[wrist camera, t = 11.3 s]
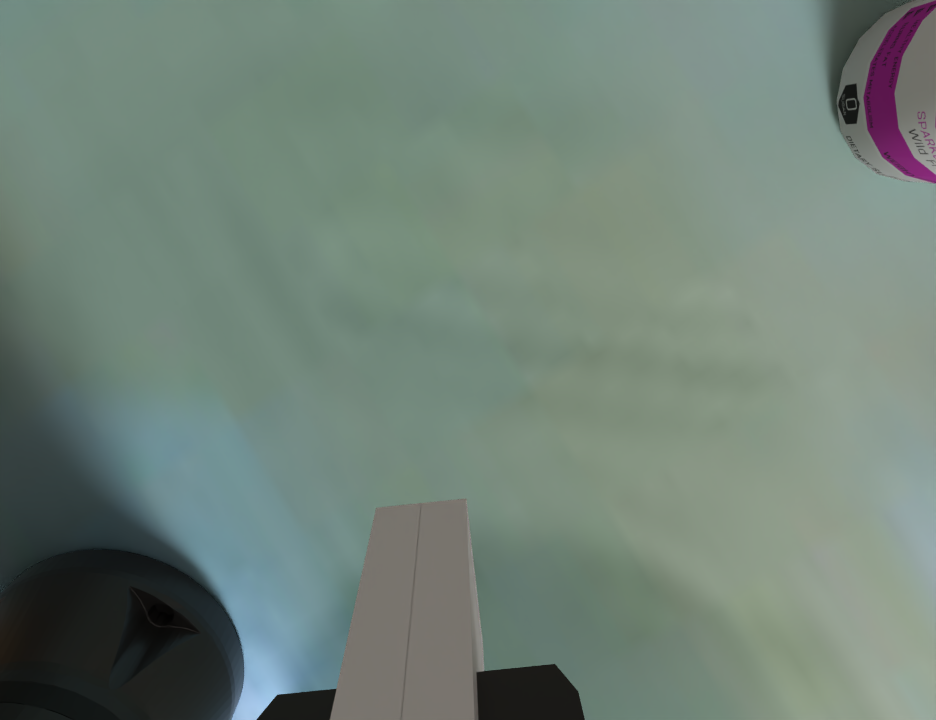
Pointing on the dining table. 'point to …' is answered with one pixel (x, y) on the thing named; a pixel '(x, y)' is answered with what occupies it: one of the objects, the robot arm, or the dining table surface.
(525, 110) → the dining table surface
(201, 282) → the dining table surface
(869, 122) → the supplement can
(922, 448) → the dining table surface
